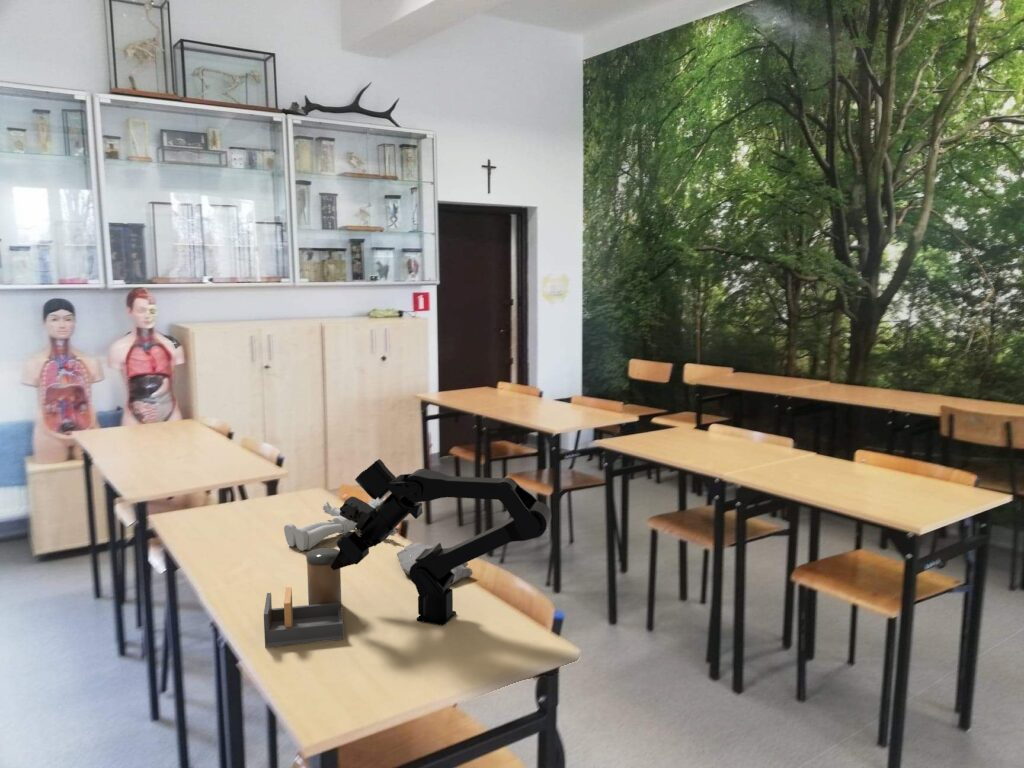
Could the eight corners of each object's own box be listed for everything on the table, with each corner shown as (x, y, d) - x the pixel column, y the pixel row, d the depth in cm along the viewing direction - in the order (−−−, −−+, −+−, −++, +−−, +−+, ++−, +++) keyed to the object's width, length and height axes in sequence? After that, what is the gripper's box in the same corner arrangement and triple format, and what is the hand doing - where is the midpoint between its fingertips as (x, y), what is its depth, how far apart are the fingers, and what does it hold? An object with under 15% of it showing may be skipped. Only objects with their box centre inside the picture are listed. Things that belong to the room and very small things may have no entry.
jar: (348, 603, 174) (346, 550, 172) (329, 616, 167) (327, 561, 166) (320, 598, 177) (319, 546, 175) (301, 611, 170) (299, 557, 168)
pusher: (292, 619, 163) (291, 587, 162) (291, 636, 156) (290, 603, 155) (286, 619, 163) (285, 587, 162) (285, 637, 155) (283, 603, 154)
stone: (485, 580, 189) (430, 550, 209) (485, 558, 188) (431, 531, 208) (429, 594, 180) (377, 561, 199) (429, 571, 179) (377, 541, 199)
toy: (258, 513, 218) (346, 485, 240) (261, 541, 219) (348, 511, 241) (330, 540, 196) (420, 506, 218) (333, 571, 198) (422, 535, 219)
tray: (341, 616, 167) (341, 586, 166) (343, 639, 157) (342, 606, 156) (268, 624, 164) (267, 593, 163) (265, 647, 153) (263, 614, 152)
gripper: (379, 475, 175) (334, 520, 179) (344, 499, 157) (295, 547, 161) (413, 512, 175) (367, 556, 178) (382, 539, 156) (332, 587, 160)
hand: (341, 560), depth 170 cm, fingers open, 9 cm apart
